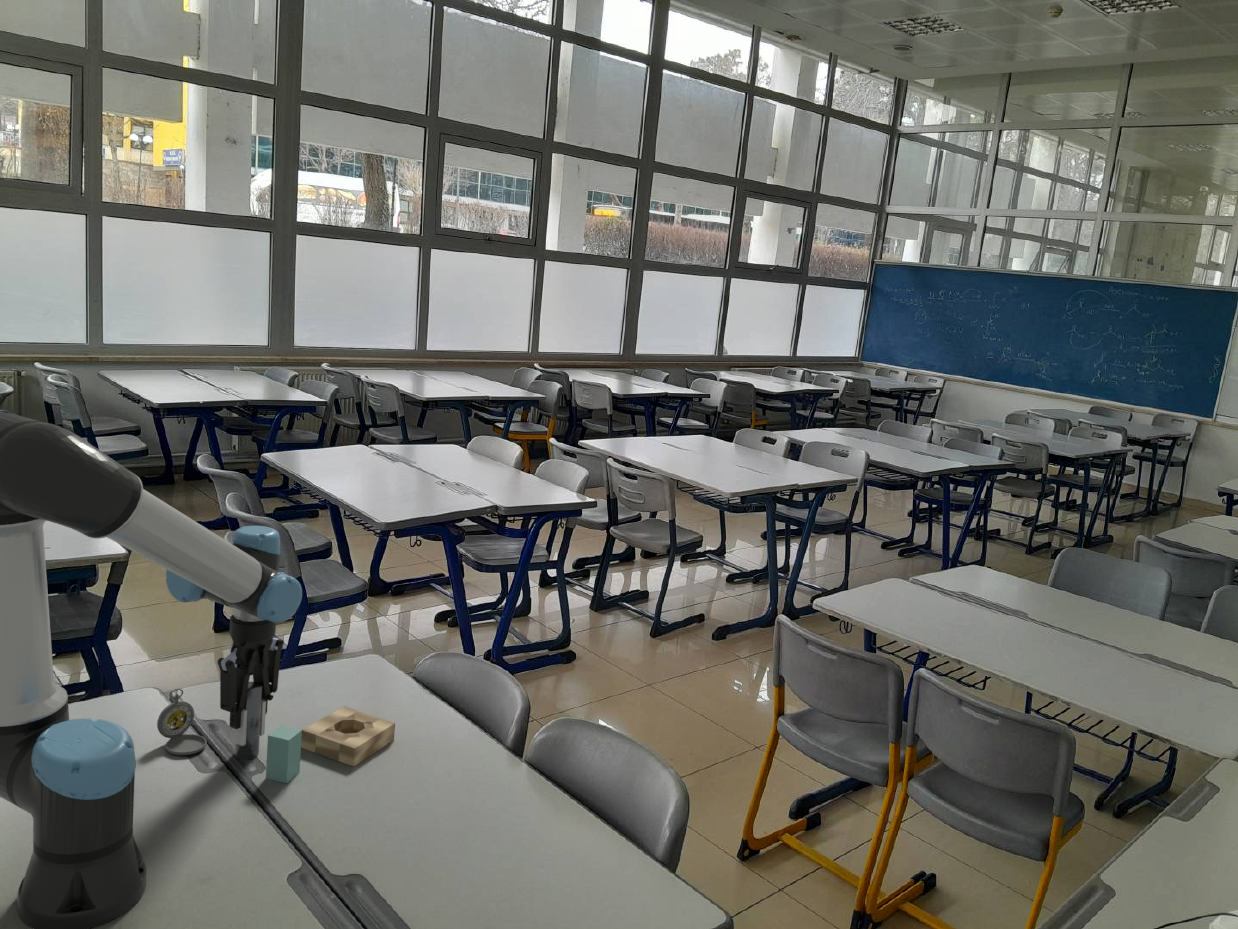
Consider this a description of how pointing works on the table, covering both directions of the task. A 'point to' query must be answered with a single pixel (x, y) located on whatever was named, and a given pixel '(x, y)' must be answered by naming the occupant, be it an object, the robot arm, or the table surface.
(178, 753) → the pocket watch
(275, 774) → the square bit
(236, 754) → the cylinder
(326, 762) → the table surface
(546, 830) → the table surface
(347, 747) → the socket block
